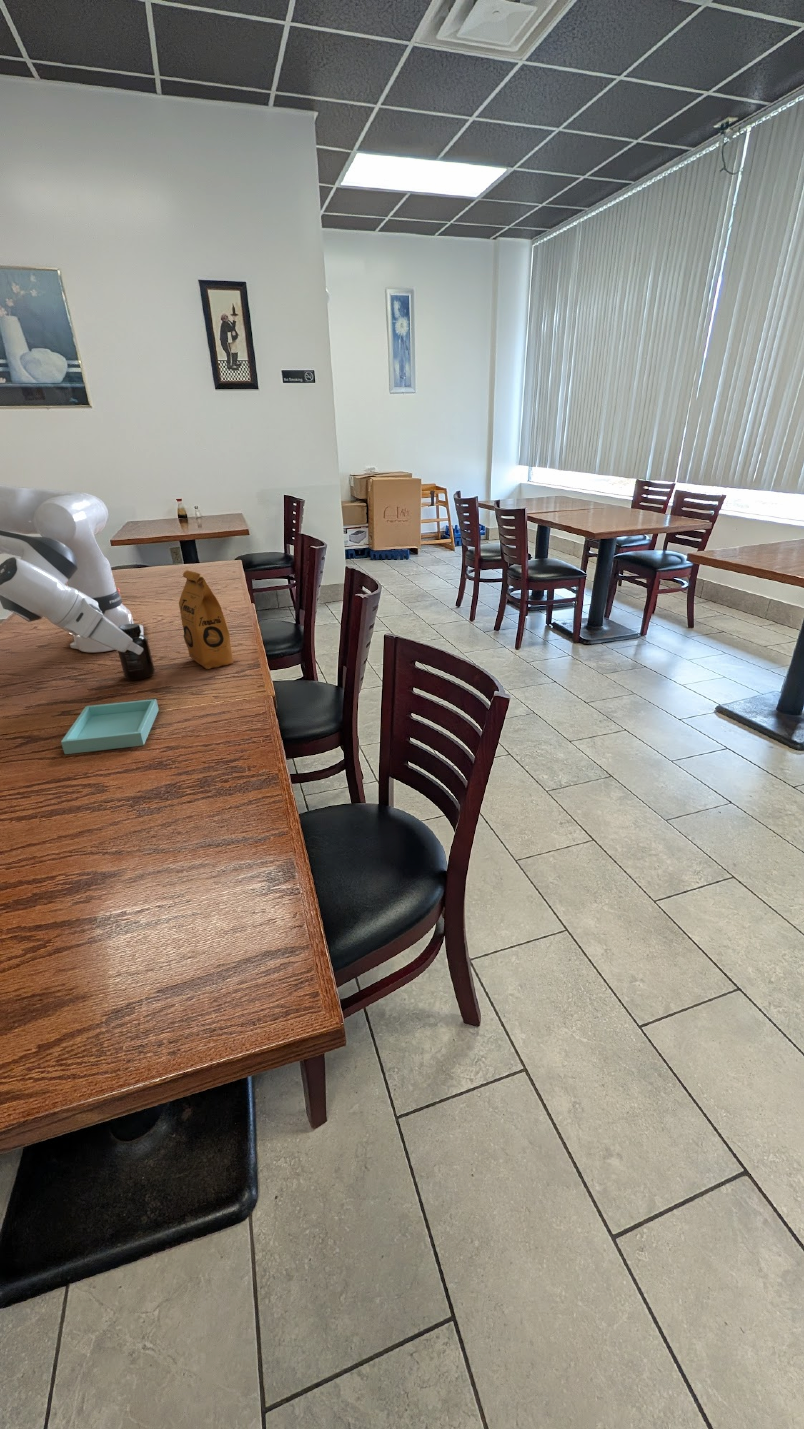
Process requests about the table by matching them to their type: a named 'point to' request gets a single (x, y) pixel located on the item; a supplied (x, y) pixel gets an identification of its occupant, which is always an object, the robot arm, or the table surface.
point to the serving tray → (111, 726)
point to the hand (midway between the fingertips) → (136, 647)
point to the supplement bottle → (136, 655)
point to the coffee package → (204, 623)
